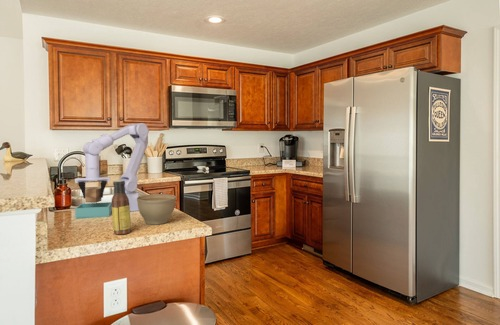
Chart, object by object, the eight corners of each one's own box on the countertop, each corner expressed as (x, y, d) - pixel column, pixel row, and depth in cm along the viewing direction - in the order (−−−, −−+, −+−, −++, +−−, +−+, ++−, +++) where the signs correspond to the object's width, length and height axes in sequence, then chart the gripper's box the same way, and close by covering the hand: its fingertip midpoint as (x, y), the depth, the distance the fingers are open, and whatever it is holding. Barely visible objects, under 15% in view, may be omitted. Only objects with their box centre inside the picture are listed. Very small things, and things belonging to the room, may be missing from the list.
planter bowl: (136, 228, 136) (135, 201, 135) (138, 219, 152) (137, 194, 151) (177, 225, 140) (177, 199, 140) (175, 217, 156) (175, 193, 155)
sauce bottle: (133, 230, 132) (131, 179, 131) (127, 235, 126) (126, 181, 125) (115, 230, 132) (114, 179, 131) (109, 235, 126) (108, 181, 124)
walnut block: (101, 200, 160) (101, 187, 160) (96, 202, 155) (95, 189, 155) (91, 200, 160) (90, 187, 160) (85, 202, 155) (84, 189, 155)
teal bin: (112, 211, 168) (111, 202, 168) (109, 216, 157) (108, 206, 156) (81, 213, 164) (80, 203, 164) (75, 218, 153) (75, 208, 153)
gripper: (109, 167, 163) (110, 195, 164) (76, 168, 158) (77, 197, 159) (109, 168, 156) (110, 198, 157) (73, 169, 151) (74, 199, 152)
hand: (93, 197), depth 158 cm, fingers closed on walnut block, 6 cm apart
